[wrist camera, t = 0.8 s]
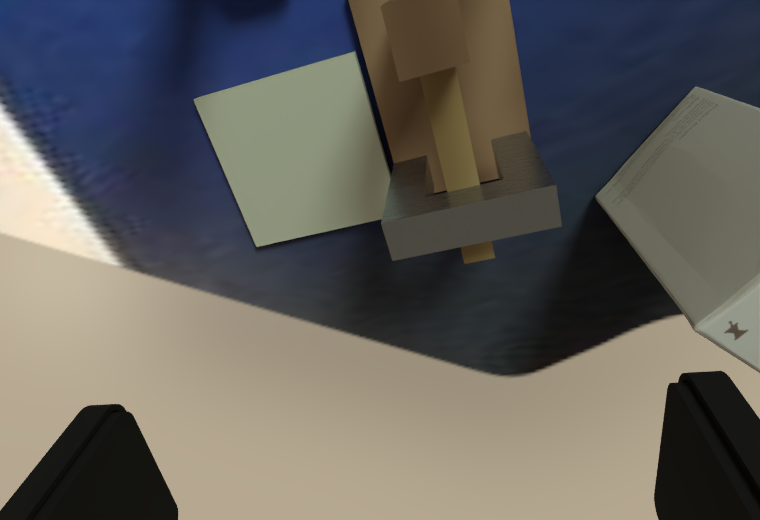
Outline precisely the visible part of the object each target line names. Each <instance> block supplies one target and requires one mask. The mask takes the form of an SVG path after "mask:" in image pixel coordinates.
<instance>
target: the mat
mask: <svg viewBox="0 0 760 520" xmlns="http://www.w3.org/2000/svg"><path fill="white" fill-rule="evenodd" d="M194 103H195V105H196V107H197V110H198V112H199V114H200V117H201V119H202V121H203V124H204V126H205V128H206V131H207V133H208V135H209V138H210V140H211V142H212V145H213V147H214V149H215V152H216V154H217V156H218V159H219V161H220V163H221V166H222V168H223V170H224V173H225V175H226V177H227V180H228V182H229V184H230V187H231V189H232V191H233V194H234V196H235V198H236V201H237V203H238V205H239V208H240V210H241V212H242V215H243V217H244V219H245V222H246V224H247V226H248V229H249V231H250V233H251V236H252V238H253V240H254V243H255V245H256V247H259V246H264V245H268V244H273V243H277V242H282V241H286V240H291V239H295V238H299V237H304V236H308V235H313V234H317V233H322V232H326V231H331V230H335V229H340V228H344V227H349V226H353V225H358V224H362V223H367V222H371V221H376V220H380V219H382V216H383V212H384V207H385V202H386V198H387V193H388V188H389V184H390V179H391V174H390V170H389V167H388V163H387V160H386V156H385V153H384V149H383V146H382V142H381V139H380V135H379V132H378V128H377V125H376V121H375V118H374V114H373V111H372V107H371V103H370V100H369V96H368V93H367V89H366V86H365V82H364V79H363V75H362V72H361V68H360V65H359V61H358V58H357V54H356V51H354V52H351V53H347V54H344V55H341V56H337V57H334V58H330V59H327V60H324V61H320V62H317V63H313V64H310V65H307V66H303V67H300V68H296V69H293V70H290V71H286V72H283V73H279V74H276V75H273V76H269V77H266V78H262V79H259V80H256V81H252V82H249V83H245V84H242V85H239V86H235V87H232V88H228V89H225V90H221V91H218V92H215V93H211V94H208V95H204V96H201V97H198V98H196V99H194Z"/></svg>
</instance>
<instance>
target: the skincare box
mask: <svg viewBox="0 0 760 520" xmlns="http://www.w3.org/2000/svg"><path fill="white" fill-rule="evenodd" d="M595 198H596V200H597V201H598V203H599V204H600V205H601V207H602V208H603V209H604V210H605V212H606V213H607V214H608V215H609V217H610V218H611V219H612V221H613V222H614V223H615V224H616V226H617V227H618V228H619V230H620V231H621V232H622V234H623V235H624V236H625V237H626V239H627V240H628V241H629V243H630V244H631V245H632V247H633V248H634V249H635V251H636V252H637V253H638V255H639V256H640V257H641V259H642V260H643V261H644V263H645V264H646V265H647V267H648V268H649V269H650V271H651V272H652V273H653V274H654V276H655V277H656V278H657V280H658V281H659V282H660V284H661V285H662V286H663V287H664V289H665V290H666V291H667V293H668V294H669V295H670V297H671V298H672V299H673V301H674V302H675V303H676V304H677V306H678V307H679V308H680V310H681V311H682V313H683V314H684V315H685V317H686V318H687V320H688V321H689V323H690V325H691V326H692V328H693V330H694V331H695V332H697V333H699V334H700V335H702V336H703V337H705V338H707V339H708V340H710V341H711V342H713V343H714V344H716V345H717V346H719V347H720V348H721V349H723V350H725V351H726V352H728V353H730V354H731V355H733V356H734V357H736V358H737V359H739V360H741V361H742V362H744V363H745V364H747V365H749V366H750V367H752V368H753V369H755V370H756V371H758V372H760V108H757V107H754V106H751V105H748V104H745V103H742V102H739V101H737V100H734V99H731V98H728V97H725V96H722V95H719V94H717V93H714V92H711V91H708V90H705V89H702V88H699V87H694V88H693V89H692V90H691V91H690V93H689V94H688V95H687V96H686V97H685V98H684V99H683V100H682V101H681V102H680V103H679V104H678V105H677V107H676V108H675V109H674V110H673V111H672V112H671V113H670V114H669V115H668V116H667V117H666V119H665V120H664V121H663V122H662V123H661V124H660V125H659V126H658V127H657V128H656V129H655V131H654V132H653V133H652V134H651V135H650V136H649V137H648V138H647V139H646V140H645V142H644V143H643V144H642V145H641V146H640V147H639V148H638V149H637V150H636V151H635V153H634V154H633V155H632V156H631V157H630V158H629V159H628V160H627V161H626V162H625V164H624V165H623V166H622V167H621V168H620V169H619V171H618V172H617V173H616V174H615V175H614V176H613V178H612V179H611V180H610V181H609V182H608V183H607V184H606V185H605V186H604V187H603V188H602V189H601V190H600V191H599V192H598V193H597V194H596V196H595Z"/></svg>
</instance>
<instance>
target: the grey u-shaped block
mask: <svg viewBox="0 0 760 520" xmlns="http://www.w3.org/2000/svg"><path fill="white" fill-rule="evenodd" d="M491 143H492V148H493V153H494V158H495V164H496V169H497V173H498V177H499V181H494V182H490V183H485V184H481V185H477V186H472V187H468V188H463V189H459V190H455V191H450V192H446V193H442V194H437V195H434V182H433V178H432V174H431V170H430V166H429V162H428V158H427V155H425V156H421V157H417V158H413V159H409V160H405V161H401V162H396V163H394V165H393V170H392V175H391V179H390V184H389V188H388V193H387V198H386V202H385V207H384V212H383V216H382V221H381V225H382V229H383V232H384V235H385V238H386V242H387V245H388V248H389V252H390V255H391V258H392V261H395V260H400V259H405V258H410V257H415V256H420V255H425V254H430V253H434V252H439V251H444V250H449V249H454V248H459V247H464V246H468V245H473V244H478V243H483V242H488V241H493V240H498V239H503V238H507V237H512V236H517V235H522V234H527V233H532V232H537V231H541V230H546V229H551V228H556V227H561V226H562V223H561V216H560V209H559V202H558V195H557V188H556V184H555V182H554V180H553V178H552V176H551V175H550V173H549V171H548V169H547V167H546V166H545V164H544V162H543V160H542V158H541V157H540V155H539V153H538V151H537V149H536V148H535V146H534V144H533V142H532V140H531V138H530V137H529V135H528V133H527V131H523V132H519V133H515V134H511V135H507V136H503V137H499V138H495V139H491Z"/></svg>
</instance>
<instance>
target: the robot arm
mask: <svg viewBox="0 0 760 520" xmlns="http://www.w3.org/2000/svg"><path fill="white" fill-rule="evenodd" d="M654 501H655V508H656V512H657V516H658V519H659V520H760V419H759V418H758V416H757V415H756V414H755V412H754V411H753V409H752V408H751V407H750V405H749V404H748V402H747V401H746V400H745V398H744V397H743V395H742V394H741V393H740V391H739V390H738V388H737V387H736V386H735V384H734V383H733V381H732V380H731V379H730V377H729V376H728V375H727V374H726V373H724V372H722V371H714V372H694V373H683V374H681V376H680V377H679V381H678V383H670V384H669V386H668V389H667V397H666V405H665V413H664V421H663V429H662V437H661V445H660V453H659V462H658V469H657V477H656V485H655V494H654ZM0 520H178V508H177V505H176V503H175V501H174V499H173V497H172V495H171V493H170V490H169V488H168V486H167V484H166V482H165V480H164V478H163V476H162V474H161V472H160V470H159V468H158V466H157V464H156V462H155V460H154V458H153V456H152V453H151V451H150V449H149V447H148V445H147V443H146V441H145V439H144V437H143V435H142V433H141V431H140V429H139V427H138V425H137V423H136V420H135V418H134V416H133V415H132V414H131V413H130V412H127V411H126V410H125V408H124V407H123V406H121V405H119V404H109V405H91V406H87V407H85V408H83V409H82V410H81V411H80V412H79V413H78V415H77V416H76V417H75V418H74V420H73V421H72V422H71V423H70V425H69V426H68V427H67V428H66V429H65V431H64V432H63V433H62V435H61V436H60V437H59V438H58V439H57V441H56V442H55V443H54V444H53V446H52V447H51V448H50V449H49V451H48V452H47V453H46V455H45V456H44V457H43V458H42V460H41V461H40V462H39V463H38V465H37V466H36V467H35V468H34V470H33V471H32V472H31V473H30V474H29V476H28V477H27V478H26V480H25V481H24V482H23V483H22V484H21V486H20V487H19V488H18V489H17V491H16V492H15V493H14V494H13V496H12V497H11V498H10V499H9V501H8V502H7V503H6V504H5V506H4V507H3V508H2V509H1V511H0Z"/></svg>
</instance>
